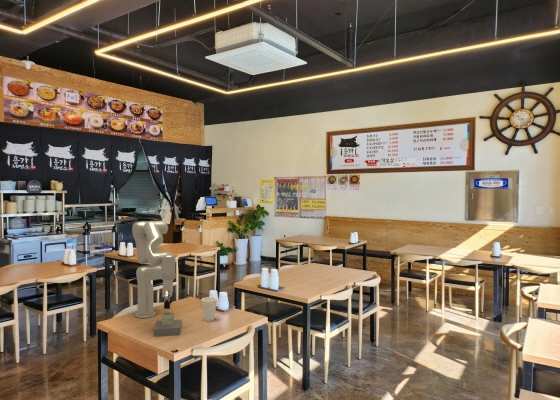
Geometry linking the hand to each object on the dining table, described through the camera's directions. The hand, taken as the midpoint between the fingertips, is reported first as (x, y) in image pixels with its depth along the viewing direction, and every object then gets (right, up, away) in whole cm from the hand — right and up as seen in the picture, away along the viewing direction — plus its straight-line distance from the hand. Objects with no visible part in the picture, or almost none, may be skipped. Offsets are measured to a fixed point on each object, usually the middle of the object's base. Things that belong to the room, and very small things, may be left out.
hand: (167, 306), depth 225 cm
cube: (0, -10, 0) cm, 10 cm away
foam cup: (+20, -14, +21) cm, 32 cm away
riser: (0, -14, 0) cm, 14 cm away
